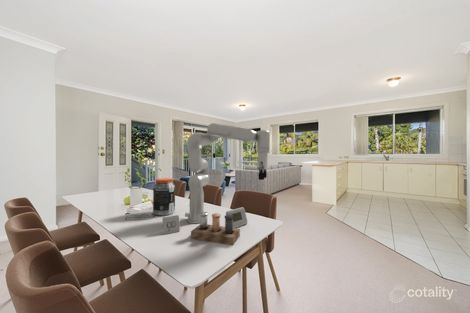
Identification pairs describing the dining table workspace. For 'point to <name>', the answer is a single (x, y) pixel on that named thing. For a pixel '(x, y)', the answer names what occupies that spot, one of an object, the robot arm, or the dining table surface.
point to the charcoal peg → (228, 224)
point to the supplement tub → (164, 197)
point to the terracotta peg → (216, 222)
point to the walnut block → (215, 235)
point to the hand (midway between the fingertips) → (262, 178)
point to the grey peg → (203, 220)
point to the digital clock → (238, 217)
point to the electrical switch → (171, 224)
